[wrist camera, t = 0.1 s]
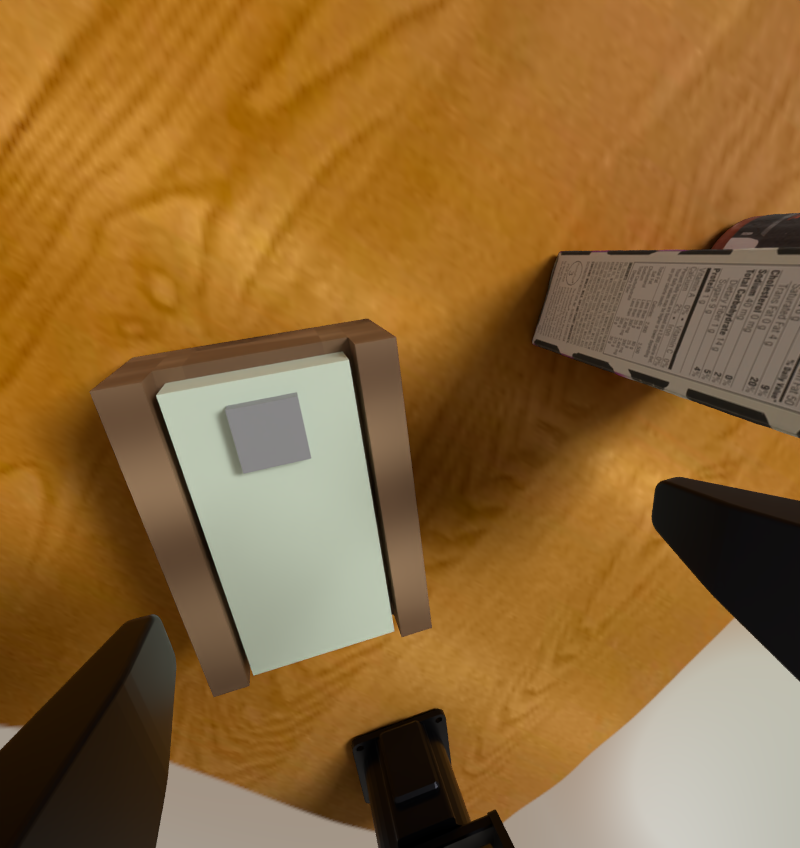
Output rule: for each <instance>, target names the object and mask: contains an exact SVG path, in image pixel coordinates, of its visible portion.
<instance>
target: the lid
mask: <svg viewBox="0 0 800 848" xmlns="http://www.w3.org/2000/svg"><path fill="white" fill-rule="evenodd" d="M156 397H157V399H158V402H159V405H160V408H161V411H162V414H163V417H164V420H165V422H166V425H167V428H168V431H169V434H170V437H171V440H172V443H173V445H174V448H175V451H176V454H177V457H178V460H179V463H180V466H181V468H182V471H183V474H184V477H185V480H186V483H187V486H188V489H189V491H190V494H191V497H192V500H193V503H194V506H195V509H196V512H197V514H198V517H199V520H200V523H201V526H202V529H203V532H204V535H205V537H206V540H207V543H208V546H209V549H210V552H211V555H212V558H213V560H214V563H215V566H216V569H217V572H218V575H219V578H220V581H221V583H222V586H223V589H224V592H225V595H226V598H227V601H228V604H229V606H230V609H231V612H232V615H233V618H234V621H235V624H236V627H237V629H238V632H239V635H240V638H241V641H242V644H243V647H244V650H245V652H246V655H247V658H248V661H249V664H250V667H251V670H252V673H253V675H257V674H260V673H263V672H266V671H270V670H273V669H276V668H279V667H282V666H285V665H289V664H292V663H295V662H298V661H301V660H305V659H308V658H311V657H314V656H317V655H320V654H324V653H327V652H330V651H333V650H336V649H340V648H343V647H346V646H349V645H352V644H355V643H359V642H362V641H365V640H368V639H371V638H374V637H378V636H381V635H384V634H387V633H390V632H394V626H393V620H392V614H391V608H390V602H389V596H388V590H387V584H386V578H385V572H384V566H383V560H382V554H381V548H380V542H379V536H378V530H377V524H376V518H375V513H374V507H373V501H372V495H371V489H370V483H369V477H368V471H367V465H366V459H365V453H364V447H363V441H362V435H361V429H360V423H359V417H358V411H357V405H356V399H355V393H354V387H353V381H352V375H351V369H350V363H349V359H348V358H347V357H346V355H345V354H344V353H343V351H342V352H337V353H331V354H325V355H320V356H314V357H309V358H303V359H298V360H292V361H286V362H281V363H275V364H270V365H264V366H259V367H253V368H247V369H242V370H236V371H231V372H225V373H220V374H214V375H208V376H203V377H197V378H192V379H186V380H181V381H175V382H169V383H165V384H164V386H163V387H162V388H161V390H160V391H159V392H158V393H157V395H156Z"/></svg>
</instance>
